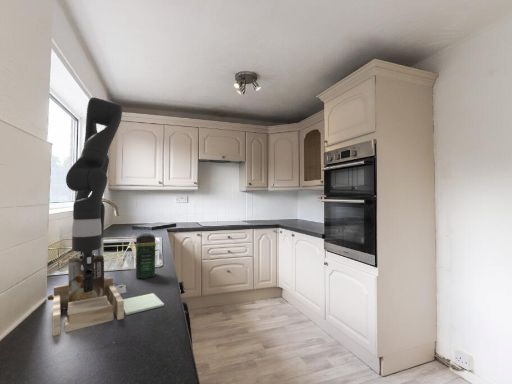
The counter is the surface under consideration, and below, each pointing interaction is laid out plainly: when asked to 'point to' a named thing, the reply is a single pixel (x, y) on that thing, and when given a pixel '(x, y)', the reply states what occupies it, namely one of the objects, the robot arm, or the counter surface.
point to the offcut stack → (88, 313)
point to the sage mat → (141, 303)
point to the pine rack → (63, 299)
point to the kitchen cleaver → (119, 288)
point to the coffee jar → (145, 255)
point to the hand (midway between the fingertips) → (86, 287)
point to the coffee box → (78, 283)
